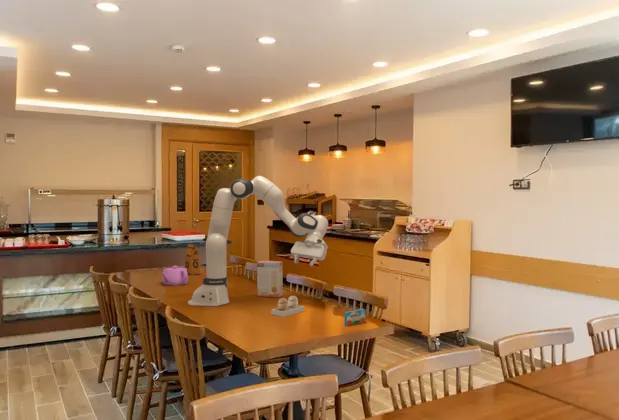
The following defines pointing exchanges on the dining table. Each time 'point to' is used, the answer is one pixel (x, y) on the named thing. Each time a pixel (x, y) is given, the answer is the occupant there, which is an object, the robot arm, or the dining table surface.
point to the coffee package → (192, 260)
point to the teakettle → (175, 276)
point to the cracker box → (269, 279)
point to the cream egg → (293, 302)
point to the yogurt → (354, 317)
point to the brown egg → (283, 305)
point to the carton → (287, 313)
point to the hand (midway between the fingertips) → (303, 264)
